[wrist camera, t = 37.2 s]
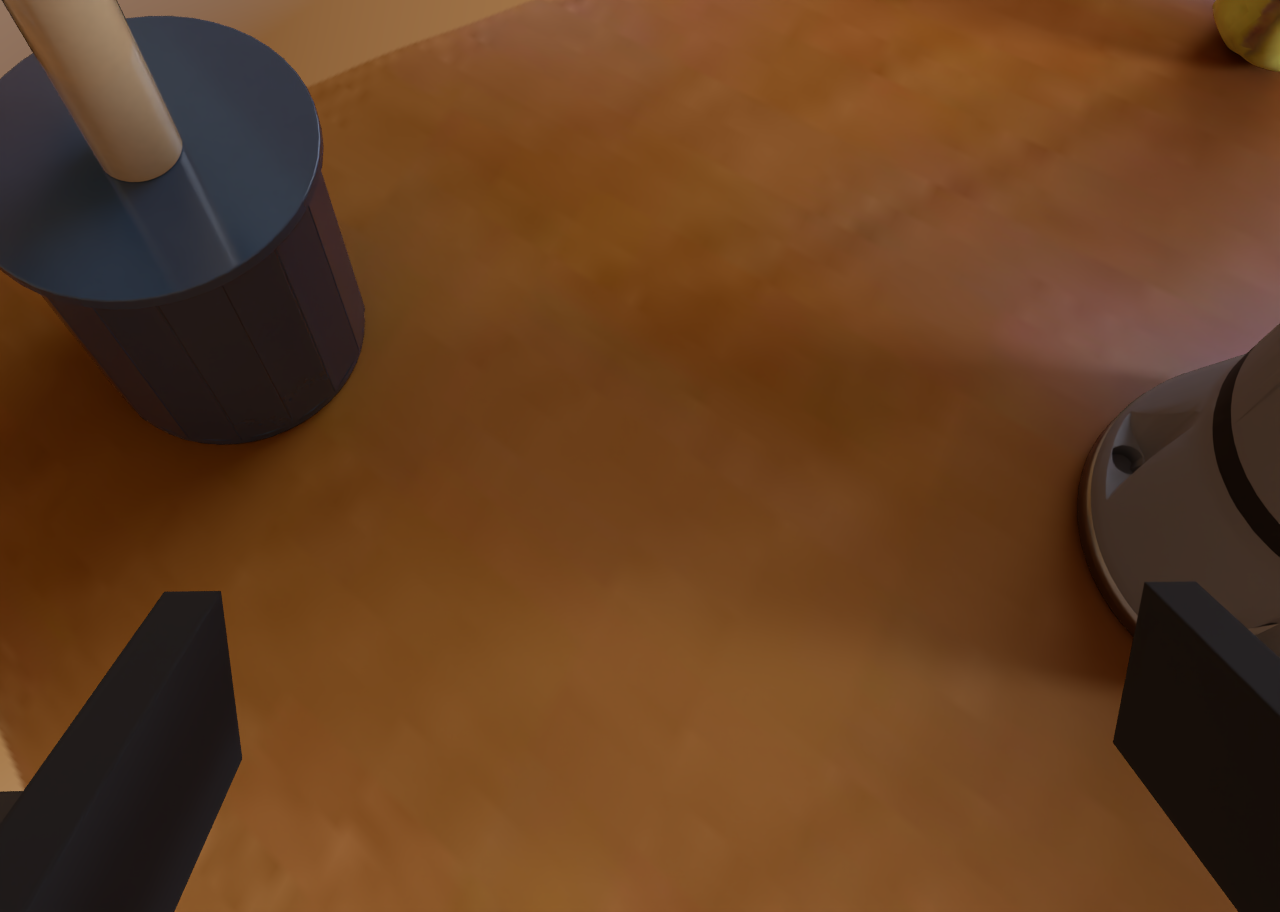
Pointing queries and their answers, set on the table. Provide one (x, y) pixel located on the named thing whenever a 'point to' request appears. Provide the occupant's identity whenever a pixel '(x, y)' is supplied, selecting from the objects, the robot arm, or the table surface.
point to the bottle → (1251, 30)
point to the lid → (146, 155)
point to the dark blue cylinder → (238, 341)
